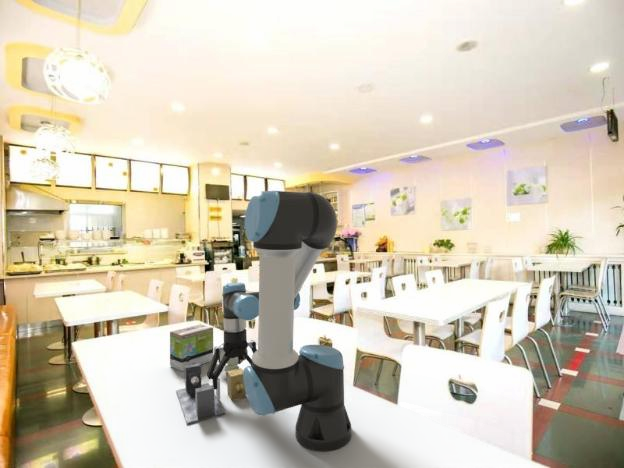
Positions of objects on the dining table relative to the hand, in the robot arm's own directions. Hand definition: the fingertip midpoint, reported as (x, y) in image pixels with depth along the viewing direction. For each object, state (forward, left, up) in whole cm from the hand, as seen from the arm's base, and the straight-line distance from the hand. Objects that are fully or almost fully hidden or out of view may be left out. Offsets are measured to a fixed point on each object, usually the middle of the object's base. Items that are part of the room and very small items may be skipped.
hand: (236, 393), depth 116 cm
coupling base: (+2, +12, -1) cm, 12 cm away
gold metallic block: (0, 0, -1) cm, 1 cm away
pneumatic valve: (+20, -4, -1) cm, 20 cm away
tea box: (+39, +8, -1) cm, 40 cm away
